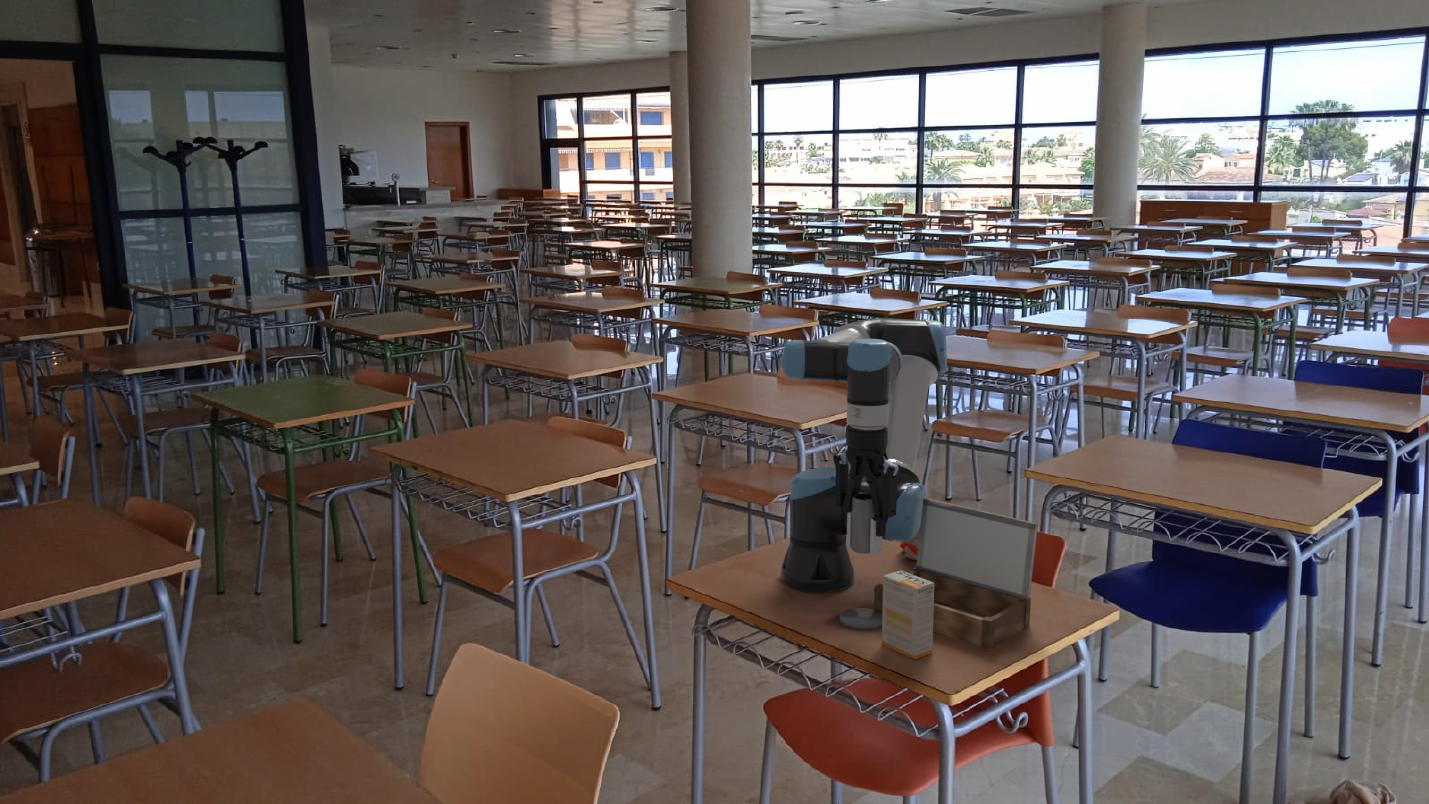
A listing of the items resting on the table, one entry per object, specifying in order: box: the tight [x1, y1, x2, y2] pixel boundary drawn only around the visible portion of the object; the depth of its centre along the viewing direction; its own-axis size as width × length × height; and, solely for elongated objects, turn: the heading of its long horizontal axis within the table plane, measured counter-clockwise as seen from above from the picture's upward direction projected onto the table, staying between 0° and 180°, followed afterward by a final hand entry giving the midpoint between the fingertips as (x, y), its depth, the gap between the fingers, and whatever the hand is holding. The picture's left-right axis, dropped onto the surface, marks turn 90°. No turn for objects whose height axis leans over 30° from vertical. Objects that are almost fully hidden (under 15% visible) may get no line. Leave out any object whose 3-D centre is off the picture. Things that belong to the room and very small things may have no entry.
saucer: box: [839, 607, 883, 631], centre depth 197 cm, size 8×8×1 cm
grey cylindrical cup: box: [851, 493, 875, 555], centre depth 193 cm, size 4×4×10 cm
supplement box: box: [881, 570, 935, 660], centre depth 183 cm, size 8×5×13 cm, turn 35°
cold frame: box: [873, 567, 1032, 651], centre depth 197 cm, size 25×15×5 cm, turn 46°
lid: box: [914, 497, 1039, 600], centre depth 200 cm, size 24×14×1 cm
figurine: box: [899, 524, 921, 561], centre depth 230 cm, size 9×7×12 cm
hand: (864, 548), depth 194 cm, fingers closed on grey cylindrical cup, 4 cm apart
